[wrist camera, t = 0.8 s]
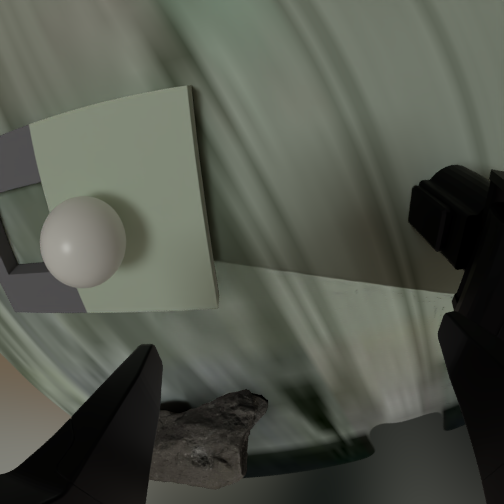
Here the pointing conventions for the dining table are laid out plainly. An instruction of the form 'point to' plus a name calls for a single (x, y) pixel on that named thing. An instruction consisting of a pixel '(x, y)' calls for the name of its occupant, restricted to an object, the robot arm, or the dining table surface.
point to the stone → (206, 441)
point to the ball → (83, 242)
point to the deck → (119, 203)
